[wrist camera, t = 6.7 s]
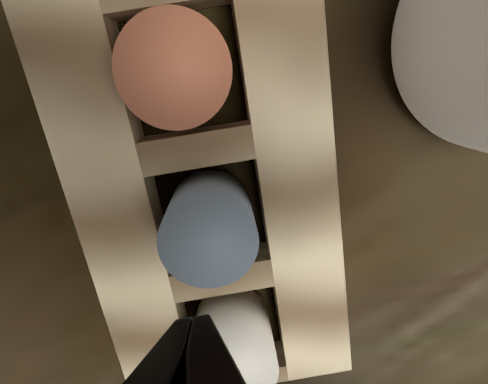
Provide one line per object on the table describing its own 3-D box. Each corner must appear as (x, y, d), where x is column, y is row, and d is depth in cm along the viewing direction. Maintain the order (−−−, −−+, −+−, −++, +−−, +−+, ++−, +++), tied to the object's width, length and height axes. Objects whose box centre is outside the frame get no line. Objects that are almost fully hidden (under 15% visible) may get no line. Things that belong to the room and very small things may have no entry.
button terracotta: (236, 111, 16) (241, 120, 12) (150, 125, 16) (128, 139, 12) (221, 16, 15) (221, -6, 11) (128, 31, 15) (97, 14, 11)
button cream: (272, 339, 20) (283, 399, 16) (203, 351, 20) (199, 414, 16) (262, 279, 19) (273, 329, 15) (189, 292, 19) (181, 345, 15)
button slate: (256, 238, 18) (265, 279, 14) (179, 251, 18) (168, 296, 14) (244, 163, 17) (251, 187, 13) (162, 177, 17) (145, 205, 13)
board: (340, 343, 21) (351, 369, 19) (142, 377, 21) (134, 407, 19) (307, -35, 15) (320, -52, 13) (28, 9, 15) (0, -1, 13)
